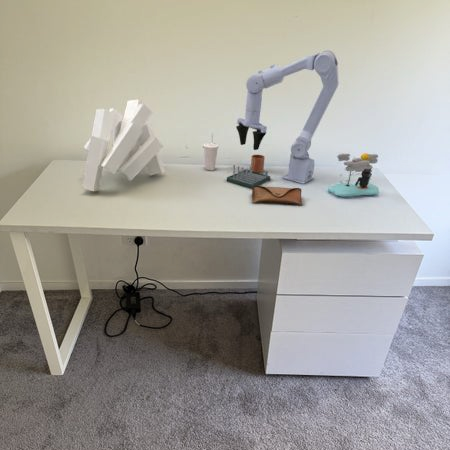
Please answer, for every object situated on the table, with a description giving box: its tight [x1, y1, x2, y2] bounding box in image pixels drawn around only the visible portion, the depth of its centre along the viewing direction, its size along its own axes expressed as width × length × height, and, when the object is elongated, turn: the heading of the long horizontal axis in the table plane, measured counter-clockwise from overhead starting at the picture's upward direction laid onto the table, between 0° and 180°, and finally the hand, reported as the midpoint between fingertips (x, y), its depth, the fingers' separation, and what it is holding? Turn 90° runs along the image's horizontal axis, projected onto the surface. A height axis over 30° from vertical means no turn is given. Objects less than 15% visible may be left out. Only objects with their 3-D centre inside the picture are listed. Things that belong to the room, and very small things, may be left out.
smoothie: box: [202, 133, 219, 171], centre depth 158 cm, size 6×6×14 cm
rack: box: [226, 164, 271, 190], centre depth 150 cm, size 12×13×6 cm
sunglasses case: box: [251, 185, 303, 206], centre depth 137 cm, size 18×7×7 cm
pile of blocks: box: [81, 98, 166, 192], centre depth 143 cm, size 35×30×35 cm
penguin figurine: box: [327, 152, 380, 198], centre depth 141 cm, size 20×11×15 cm, turn 101°
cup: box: [250, 154, 266, 174], centre depth 160 cm, size 5×5×6 cm
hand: (249, 147), depth 155 cm, fingers open, 7 cm apart
